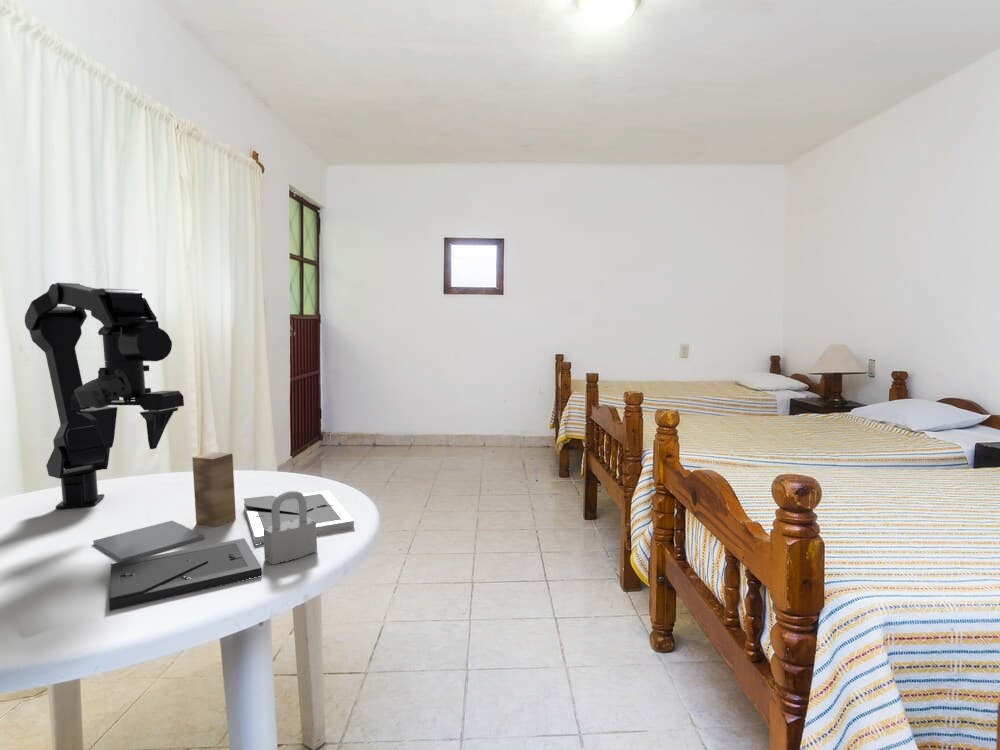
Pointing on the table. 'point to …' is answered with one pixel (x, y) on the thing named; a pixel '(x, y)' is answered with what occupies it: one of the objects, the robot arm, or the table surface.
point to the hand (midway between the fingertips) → (130, 448)
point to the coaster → (147, 540)
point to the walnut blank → (214, 488)
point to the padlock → (289, 532)
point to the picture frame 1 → (180, 573)
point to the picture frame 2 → (297, 513)
